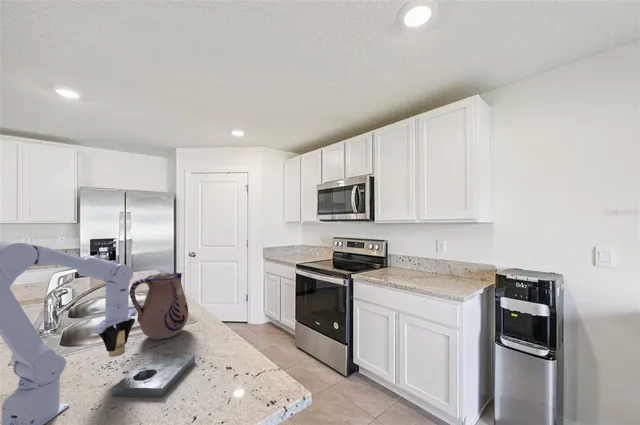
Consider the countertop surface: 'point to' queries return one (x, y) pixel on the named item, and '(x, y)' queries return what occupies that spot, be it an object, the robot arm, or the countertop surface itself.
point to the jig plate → (154, 376)
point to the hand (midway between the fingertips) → (116, 347)
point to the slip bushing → (119, 344)
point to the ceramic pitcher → (161, 306)
